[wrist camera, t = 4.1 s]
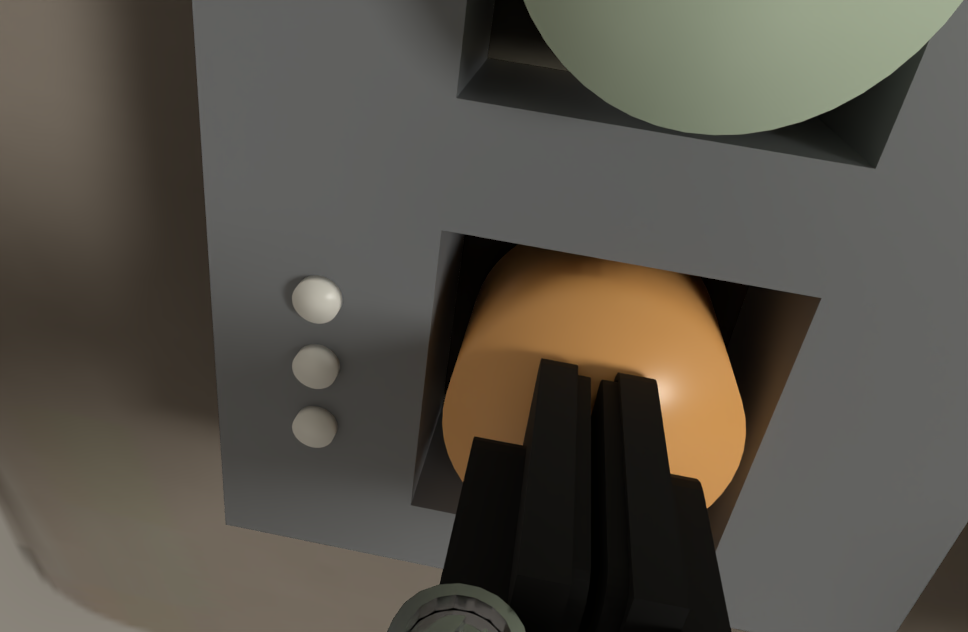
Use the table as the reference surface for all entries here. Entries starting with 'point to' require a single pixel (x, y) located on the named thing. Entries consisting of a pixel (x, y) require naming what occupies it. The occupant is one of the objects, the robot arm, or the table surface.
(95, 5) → the table surface
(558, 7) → the button sage
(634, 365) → the button orange
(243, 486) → the panel
